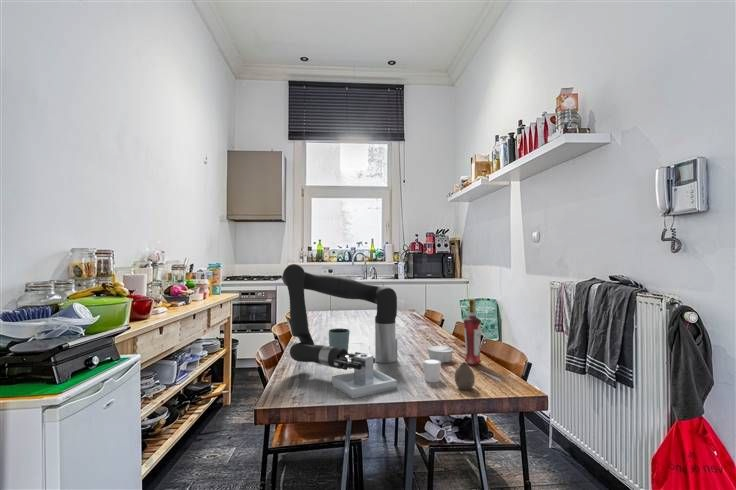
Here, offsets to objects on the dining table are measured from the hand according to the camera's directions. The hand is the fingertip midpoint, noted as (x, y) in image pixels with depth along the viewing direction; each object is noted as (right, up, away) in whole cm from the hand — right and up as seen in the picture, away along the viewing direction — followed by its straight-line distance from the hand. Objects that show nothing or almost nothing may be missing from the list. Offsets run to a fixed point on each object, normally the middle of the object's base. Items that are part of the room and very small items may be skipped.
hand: (368, 363), depth 133 cm
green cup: (-14, -10, +43) cm, 47 cm away
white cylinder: (+24, -9, +8) cm, 27 cm away
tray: (-2, -9, +1) cm, 9 cm away
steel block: (-1, -8, +1) cm, 8 cm away
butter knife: (+46, -10, +19) cm, 50 cm away
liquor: (+46, -9, +29) cm, 55 cm away
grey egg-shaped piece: (+34, -9, -1) cm, 36 cm away
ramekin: (+33, -10, +35) cm, 49 cm away
